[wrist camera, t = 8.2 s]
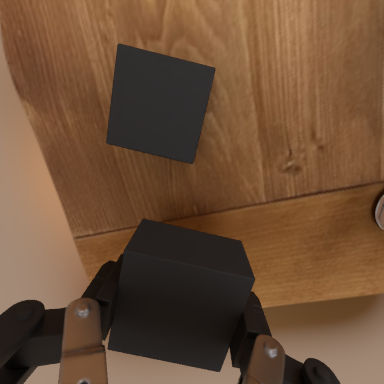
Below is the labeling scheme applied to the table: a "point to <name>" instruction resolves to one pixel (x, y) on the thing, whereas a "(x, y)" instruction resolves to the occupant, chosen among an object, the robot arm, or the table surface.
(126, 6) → the table surface
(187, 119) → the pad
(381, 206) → the beer can
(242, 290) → the black block in front
